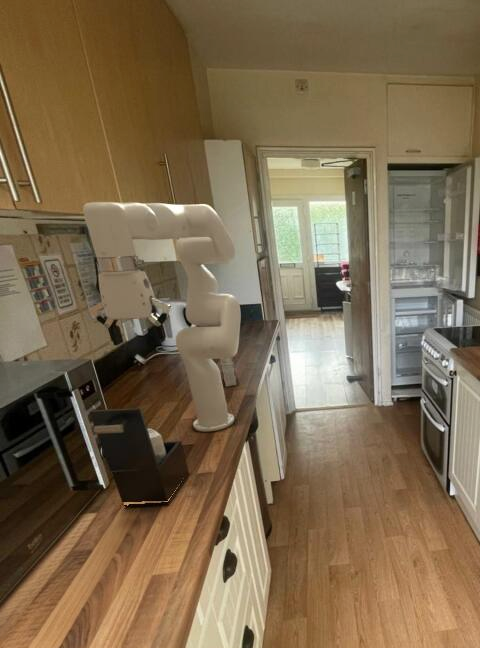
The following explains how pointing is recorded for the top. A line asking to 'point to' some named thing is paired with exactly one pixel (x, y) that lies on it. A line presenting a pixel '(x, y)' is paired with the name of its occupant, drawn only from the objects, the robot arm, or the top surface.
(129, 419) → the bin lid
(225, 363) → the candy bar box
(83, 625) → the top surface
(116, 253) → the robot arm
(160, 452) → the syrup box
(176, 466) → the bin
